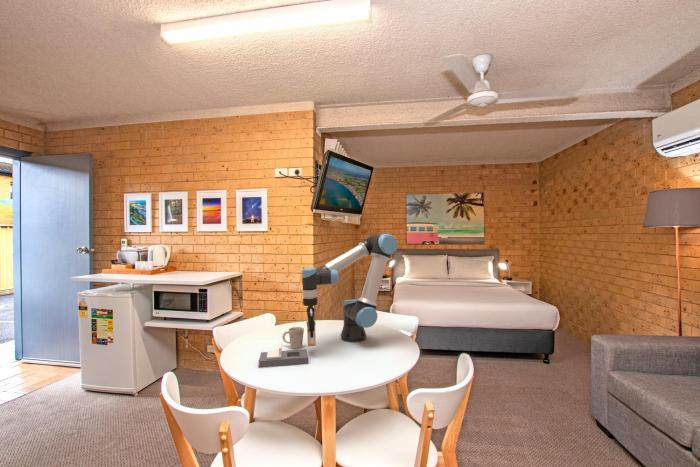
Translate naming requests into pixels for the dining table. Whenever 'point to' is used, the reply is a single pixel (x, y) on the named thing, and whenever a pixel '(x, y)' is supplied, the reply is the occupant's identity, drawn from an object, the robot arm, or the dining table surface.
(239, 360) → the dining table surface
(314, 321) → the plug
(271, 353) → the panel
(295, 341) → the mug
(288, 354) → the socket
